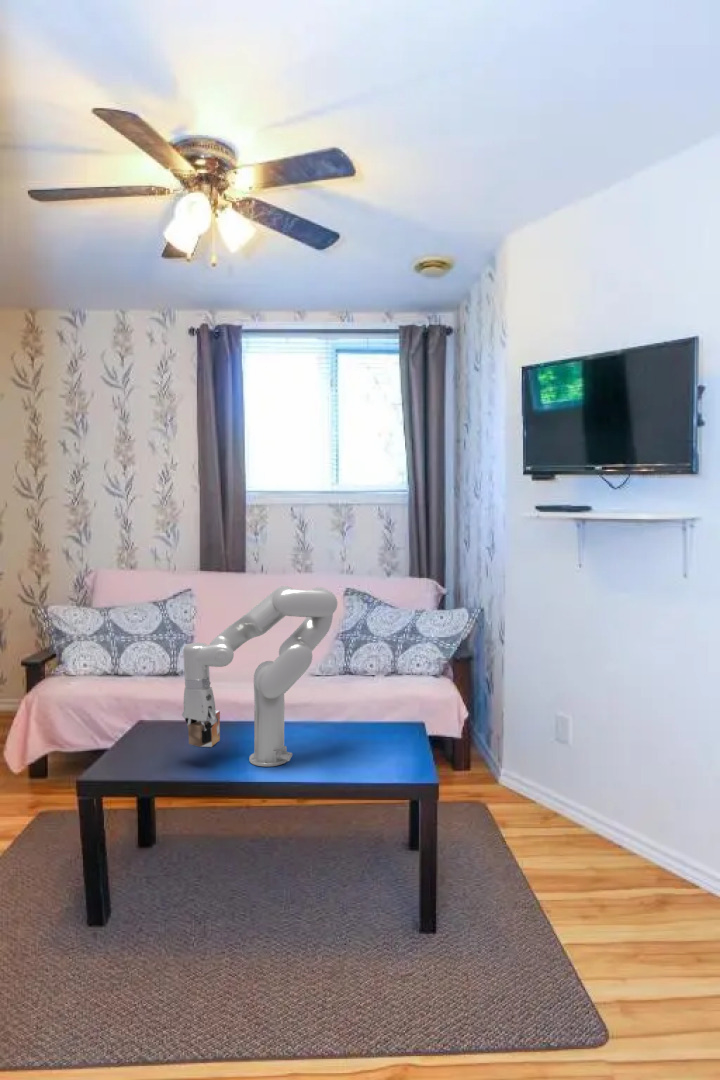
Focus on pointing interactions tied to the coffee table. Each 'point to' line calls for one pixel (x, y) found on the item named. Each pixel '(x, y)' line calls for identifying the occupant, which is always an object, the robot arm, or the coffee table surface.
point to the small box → (215, 731)
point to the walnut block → (196, 734)
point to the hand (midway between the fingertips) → (200, 740)
